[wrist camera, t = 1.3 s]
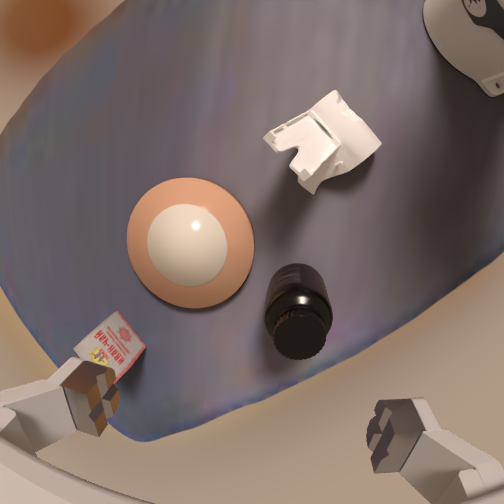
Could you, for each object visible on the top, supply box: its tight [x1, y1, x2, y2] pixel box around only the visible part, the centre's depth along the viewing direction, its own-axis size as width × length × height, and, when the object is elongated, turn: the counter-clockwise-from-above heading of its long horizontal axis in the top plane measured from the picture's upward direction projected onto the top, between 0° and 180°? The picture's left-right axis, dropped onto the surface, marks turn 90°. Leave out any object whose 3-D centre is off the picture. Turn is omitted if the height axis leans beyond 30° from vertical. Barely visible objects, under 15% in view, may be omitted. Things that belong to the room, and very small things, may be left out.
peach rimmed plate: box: [127, 177, 255, 308], centre depth 38 cm, size 16×16×2 cm
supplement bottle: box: [265, 263, 333, 360], centre depth 33 cm, size 7×7×12 cm
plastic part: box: [263, 90, 382, 195], centre depth 29 cm, size 8×10×12 cm
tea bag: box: [74, 310, 147, 384], centre depth 39 cm, size 4×7×10 cm, turn 35°
